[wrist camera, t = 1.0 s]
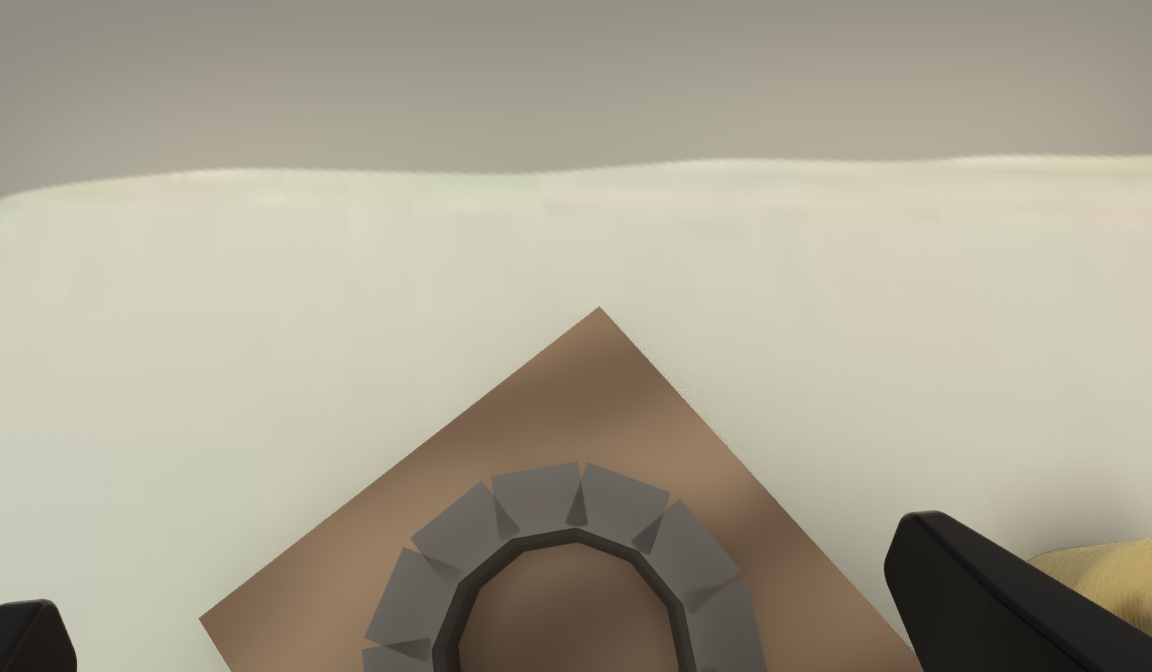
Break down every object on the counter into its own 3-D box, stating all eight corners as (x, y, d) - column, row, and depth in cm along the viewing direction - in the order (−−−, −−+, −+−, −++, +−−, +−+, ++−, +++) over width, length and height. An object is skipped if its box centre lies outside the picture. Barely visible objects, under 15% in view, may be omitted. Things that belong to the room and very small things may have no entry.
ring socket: (937, 692, 22) (1031, 712, 18) (527, 1118, 19) (507, 1281, 14) (598, 317, 26) (601, 252, 22) (214, 618, 23) (119, 618, 18)
